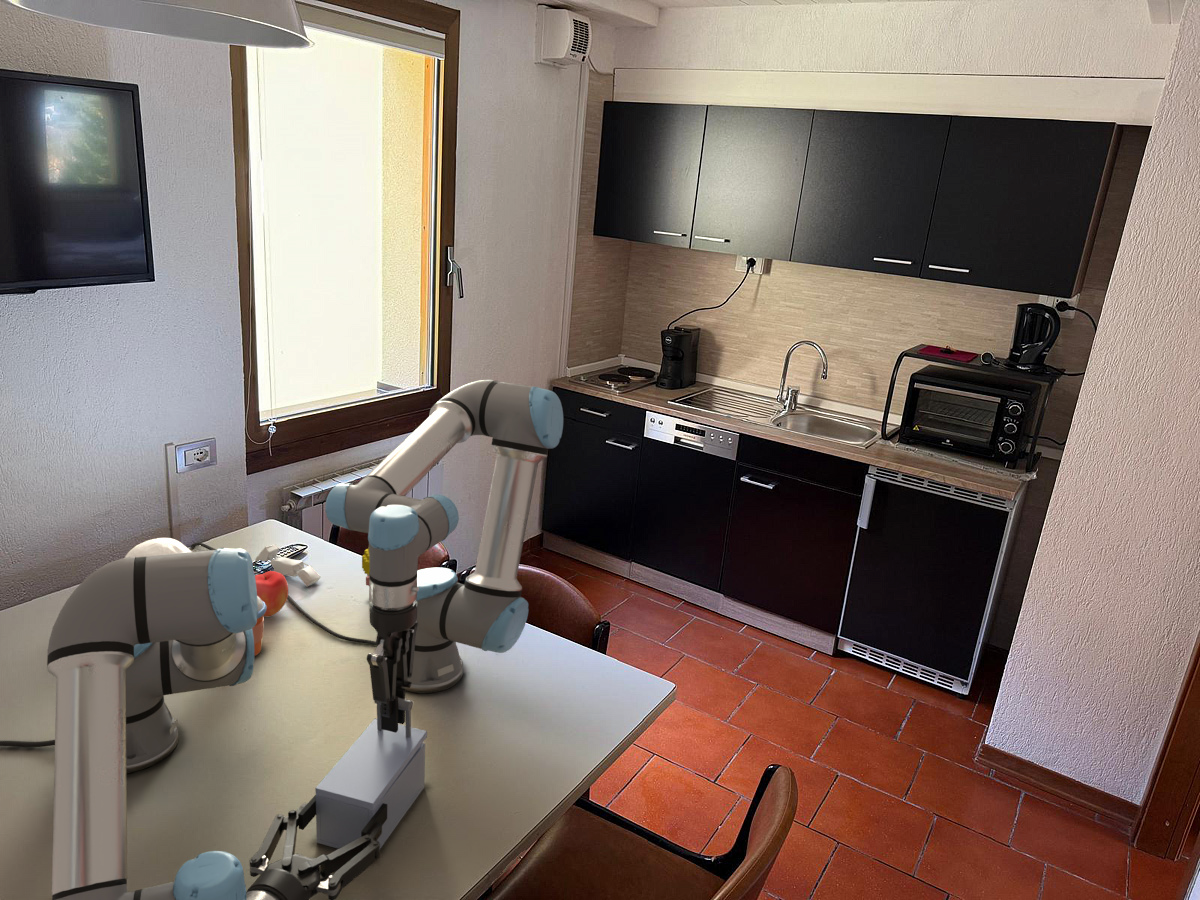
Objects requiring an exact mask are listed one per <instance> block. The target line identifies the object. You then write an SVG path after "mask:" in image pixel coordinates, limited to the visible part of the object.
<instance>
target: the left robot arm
mask: <svg viewBox="0 0 1200 900" xmlns="http://www.w3.org/2000/svg"><path fill="white" fill-rule="evenodd" d="M216 549H217V550H209V549H207V550H200V551H191V552H187V553H177V554H166V555H156V556H146V557H129V558H125V557H124V558H120V559H116V560H113V561H110V562H107V563H106V564H104V565H103V566H101V567H99V568H98V569H96V570H94V571H93V572H92V573H91V574H89V575H88V576H87V577H86V578H85V579H83V581H82V582H81V583H80V584H79V585H78V586H77V587H76V588H75V589H74V590H73V591H72V593H71V594H70V595H69V597H68V598H67V599H66V601H65V603H64V604H63V606H62V608H61V609H60V611H59V613H58V615H57V617H56V619H55V622H54V624H53V626H52V629H51V631H50V636H49V640H48V646H47V650H46V651H47V652H46V653H47V654H46V655H47V659H46V661H47V662H46V665H47V666H46V671H47V672H48V673H49V674H50V675H51V676H53V677H54V678H55V679H56V680H55V681H56V682H55V723H54V724H55V726H54V730H55V731H54V739H49V740H41V741H24V740H23V741H22V740H0V747H18V748H42V747H51V746H54V769H53V770H54V773H53V774H54V775H53V776H54V778H53V819H52V820H53V822H52V823H53V824H52V870H51V871H52V873H51V874H52V875H51V900H310V899H311V898H312V897H314V896H315V895H316V896H317V895H318V894H319V893H320V894H324V895H327V896H328V900H337V898H338V897H339V895H340V894H341V893H342V890H343V889H344V888H345V887H347V886H348V885H349V884H350V883H351V882H353V881H354V880H355V879H356V878H358V877H359V876H360V875H362V873H364V872H365V871H366V870H367V869H368V868H369V867H371V866H372V865H373V864H374V863H376V861H378V860H379V859H380V858H381V851H380V850H381V848H380V843H379V841H377V840H378V838H379V837H380V835H381V834H382V825H383V824H384V822H385V821H386V820H387V804H384V803H383V804H382V805H381V807H380V808H379V809H378V811H377V812H376V813H375V815H374V816H373V817H372V818H371V820H370V821H369V822H368V823H367V825H366V826H365V827H364V829H363V830H362V831H361V838H359V839H357V840H355V841H353V842H351V843H349V844H347V845H345V846H344V847H342V848H340V849H336V850H334V851H332V852H330V853H328V854H325V853H323V854H321V855H319V856H317V857H313V856H305V855H303V854H301V853H299V852H297V853H296V842H297V834H298V829H299V830H302V831H303V830H305V828H306V827H307V826H308V825H309V824H310V823H311V822H312V820H313V819H314V818H316V794H314V796H313V797H312V798H311V799H310V800H309V801H308V802H303V803H301V805H300V806H299V807H298V808H297V809H292V810H291V809H290V810H289V811H288V813H287V816H285V815H284V814H282V813H279V814H276V815H275V817H274V819H273V820H272V823H271V825H270V826H269V828H268V831H267V833H266V835H265V837H264V839H263V841H262V843H261V845H260V847H259V849H258V850H257V851H256V853H255V854H253V856H251V858H250V859H249V875H250V877H251V878H254V877H257V878H256V879H255V881H254V882H253V883H252V884H251V885H250V886H249V888H248V889H247V887H246V881H245V873H244V868H243V865H242V863H241V860H240V859H239V858H238V857H237V856H235V855H234V854H232V853H230V852H228V851H224V850H210V851H205V852H202V853H199V854H197V856H196V857H194V858H193V859H188V860H187V861H185V862H184V863H183V864H182V865H181V866H180V867H179V869H178V870H177V872H176V874H175V877H174V880H173V881H171V882H167V883H162V884H158V885H154V886H153V885H152V886H149V887H145V888H141V889H136V890H132V891H128V804H127V803H128V800H127V799H128V798H127V795H128V793H127V792H128V791H127V789H128V788H127V785H128V784H127V774H129V773H134V772H138V771H142V770H144V769H148V768H150V767H153V766H155V765H156V764H157V763H160V762H161V761H163V760H165V758H167V757H168V756H169V755H171V753H173V751H174V750H175V749H176V747H177V745H178V743H179V739H180V737H179V728H178V725H179V719H178V717H177V718H176V719H174V717H173V715H172V713H171V711H170V709H169V708H168V706H167V703H166V702H165V696H168V695H175V694H180V693H181V694H182V693H189V692H195V691H202V690H208V689H216V688H221V687H222V688H223V687H234V686H237V685H239V684H243V683H247V682H248V681H249V680H250V679H251V678H252V676H253V673H254V666H255V665H254V664H255V656H254V637H253V630H252V628H253V627H254V626H255V625H256V623H257V616H258V604H257V590H256V580H255V575H256V574H255V572H254V568H253V564H254V563H253V560H252V555H250V553H249V552H248V551H247V550H246V549H245V548H244V549H243V548H241V547H240V548H239V547H238V548H236V547H235V548H228V547H219V548H216ZM284 831H286V833H285V840H284V841H285V842H284V847H283V853H282V854H283V855H282V858H281V859H279V860H278V859H277V860H276V861H274V862H271V863H270V861H271V859H272V856H273V854H274V852H275V850H276V848H277V845H278V844H279V842H280V840H281V838H282V836H283V833H284ZM295 853H296V854H295ZM269 863H270V864H269Z"/></svg>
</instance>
